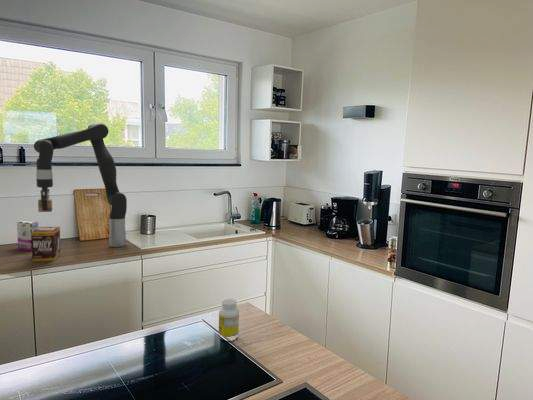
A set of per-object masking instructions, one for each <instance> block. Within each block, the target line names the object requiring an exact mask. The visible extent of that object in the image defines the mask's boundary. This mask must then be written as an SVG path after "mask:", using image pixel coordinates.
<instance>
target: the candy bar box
mask: <svg viewBox="0 0 533 400" xmlns="http://www.w3.org/2000/svg"><path fill="white" fill-rule="evenodd" d="M16 226H17V229H16V230H17V233H16V234H17V249H18V250H23V251H26V252H27V251H28V252H32V235H31V233H32V232H33V231H35V230H36V229H37V228H39V221H34V220H33V221H32V220H26V219H25V220H19V221H18V220H17V221H16Z"/></svg>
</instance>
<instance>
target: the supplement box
mask: <svg viewBox="0 0 533 400" xmlns="http://www.w3.org/2000/svg"><path fill="white" fill-rule="evenodd" d="M31 235H32V251H31V255H32V258H31V259H32V262H54V261H55V260H56V259H57V257H59V256H60V254H61V227H60V226H38V228H37V229H36V230H35V231H33V232H32V233H31Z"/></svg>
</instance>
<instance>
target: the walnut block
mask: <svg viewBox="0 0 533 400" xmlns="http://www.w3.org/2000/svg"><path fill="white" fill-rule="evenodd" d="M43 200H46V199H43ZM47 202H48V203H47V210H43V209H42V202H41V198H39V199H38V200H37V207H38V209H37V210H38V213H49V212H50V213H51V212H52V211H53V199H52V198H49V199H48V200H47Z"/></svg>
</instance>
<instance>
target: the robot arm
mask: <svg viewBox="0 0 533 400" xmlns="http://www.w3.org/2000/svg"><path fill="white" fill-rule="evenodd" d="M109 133H110V132H109V128H108V126H107V125H106V124H104V123H100V122H97V123H96V122H95V123H90V124H89V125H88V126H87V128H85V129H81V130H77V131H72V132H66V133H62V134H59V135H56V136H51V137H47V138H42V139H38V140H36V141H35V142H34V144H33V149H34V151H36V152H37V153H39V154H38V158H36V173H35V174H36V175H35V177H36V187H37V188H41V189H40V199H41V202H42V209H43V210H47V203H48V202H47V200H48V199H50V193H51V192H50V189H49V188H53V186H54V180H53V167H52V165H53V164H52V160H53V156H54V150H61V149H64V148H69V147H72V146H75V145H77V144H81V143H84V142H88V141H90V143H91V146H92V148H93V152H94V157H95V159H96V162H97V166H98V170H99V173H100V175H101V179H102V182H103V185H104V188H105V193H106V200H107V203H108V204H109V205H110V207H111V208H110V213H108V214H109V215H108V216H109V217H108V220H109V222H108V223H109V224H108V225H109V228H108V229H109V232H108V233H109V240H108V241H109V247H112V248H122V247H126V245H127V244H126V243H127V241H126V240H127V239H126V238H127V237H126V236H127V234H126V233H127V232H126V214H127V211H128V210H127V208H128V205H127V204H128V202H127V196H126V195H125V194H124V193H122V192H120V190H119V187H118V184H117V168H116V164H115V160H114V158H113V156H112V155H111V153H110V151H109V150H108V149H107V147H106V145H105V141H104V139H105V138H107V137H108V135H109ZM43 199H46V200H43Z"/></svg>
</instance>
